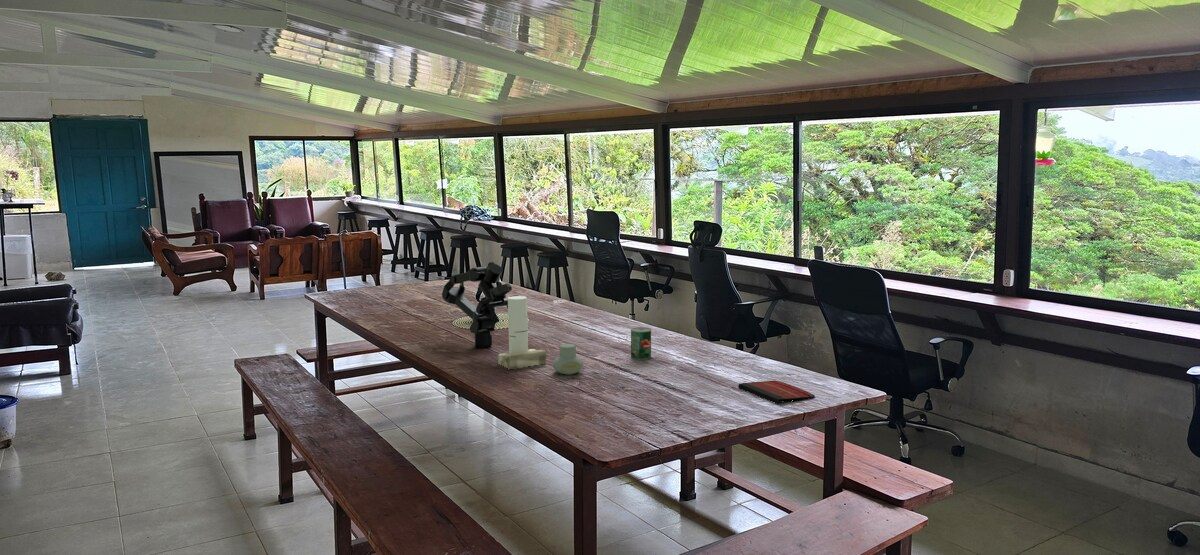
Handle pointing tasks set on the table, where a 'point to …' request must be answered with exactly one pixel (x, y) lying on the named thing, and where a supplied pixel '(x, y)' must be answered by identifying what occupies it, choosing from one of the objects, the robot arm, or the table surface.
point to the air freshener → (567, 360)
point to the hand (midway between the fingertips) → (508, 320)
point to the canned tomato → (640, 343)
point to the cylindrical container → (517, 324)
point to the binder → (776, 391)
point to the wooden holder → (522, 359)
